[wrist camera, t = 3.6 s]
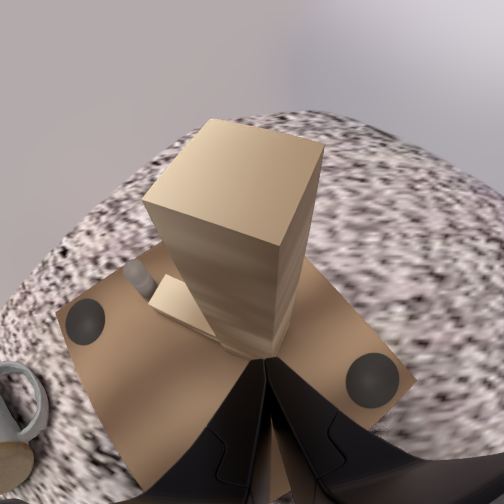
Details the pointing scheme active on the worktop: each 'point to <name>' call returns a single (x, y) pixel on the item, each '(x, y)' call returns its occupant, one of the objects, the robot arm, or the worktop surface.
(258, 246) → the hinged leg
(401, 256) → the worktop surface
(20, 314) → the worktop surface
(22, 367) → the ceramic mug
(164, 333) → the stool seat
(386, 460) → the robot arm
